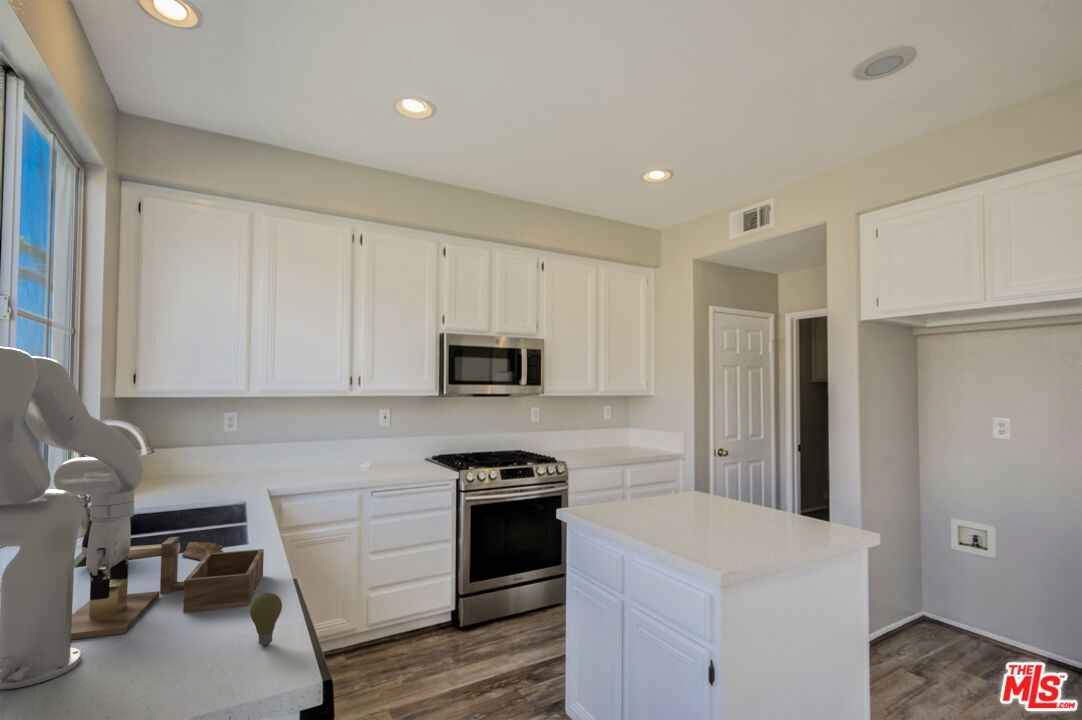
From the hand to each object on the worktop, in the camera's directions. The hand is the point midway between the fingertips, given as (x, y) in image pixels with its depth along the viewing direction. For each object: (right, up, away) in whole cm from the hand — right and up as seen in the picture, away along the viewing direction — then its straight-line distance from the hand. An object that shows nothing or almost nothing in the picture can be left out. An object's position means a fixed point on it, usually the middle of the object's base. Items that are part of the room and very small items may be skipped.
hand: (109, 590), depth 119 cm
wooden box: (+13, -6, +13) cm, 19 cm away
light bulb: (+40, -6, -12) cm, 42 cm away
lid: (0, -6, 0) cm, 6 cm away
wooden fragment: (-8, -8, +46) cm, 47 cm away
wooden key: (-3, +2, +15) cm, 15 cm away
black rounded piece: (-27, -7, +33) cm, 43 cm away
